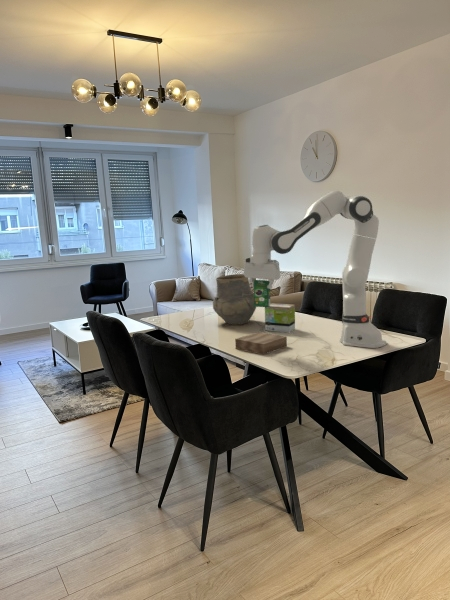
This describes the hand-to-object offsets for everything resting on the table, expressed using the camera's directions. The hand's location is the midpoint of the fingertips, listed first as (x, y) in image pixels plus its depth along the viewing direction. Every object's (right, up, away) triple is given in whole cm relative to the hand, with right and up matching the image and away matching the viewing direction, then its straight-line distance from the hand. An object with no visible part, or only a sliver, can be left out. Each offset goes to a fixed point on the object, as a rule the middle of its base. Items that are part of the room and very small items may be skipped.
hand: (261, 287), depth 220 cm
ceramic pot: (-11, -20, +68) cm, 72 cm away
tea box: (+14, -23, +42) cm, 50 cm away
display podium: (0, -30, +5) cm, 30 cm away
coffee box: (0, -9, +2) cm, 10 cm away
